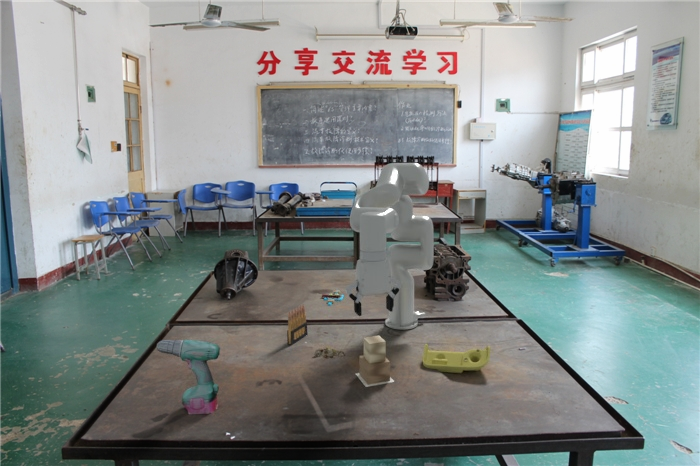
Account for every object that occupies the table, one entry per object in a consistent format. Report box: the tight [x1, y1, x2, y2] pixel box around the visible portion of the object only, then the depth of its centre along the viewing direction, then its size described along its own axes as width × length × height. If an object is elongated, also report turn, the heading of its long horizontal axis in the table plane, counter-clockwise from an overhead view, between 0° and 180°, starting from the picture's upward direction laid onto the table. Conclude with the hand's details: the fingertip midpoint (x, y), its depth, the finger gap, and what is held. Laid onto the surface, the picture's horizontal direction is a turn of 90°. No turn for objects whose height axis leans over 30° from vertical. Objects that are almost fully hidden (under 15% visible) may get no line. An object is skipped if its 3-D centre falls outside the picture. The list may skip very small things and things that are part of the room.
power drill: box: [156, 339, 221, 415], centre depth 141 cm, size 7×16×20 cm, turn 95°
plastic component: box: [422, 343, 491, 374], centre depth 165 cm, size 20×8×10 cm
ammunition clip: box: [286, 303, 308, 346], centre depth 188 cm, size 11×2×12 cm, turn 153°
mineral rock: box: [314, 346, 346, 359], centre depth 173 cm, size 11×4×8 cm
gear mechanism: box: [321, 287, 345, 306], centre depth 235 cm, size 20×5×9 cm
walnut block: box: [358, 354, 391, 385], centre depth 156 cm, size 7×7×6 cm
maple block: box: [363, 334, 387, 363], centre depth 155 cm, size 5×5×6 cm
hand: (374, 312), depth 153 cm, fingers open, 9 cm apart
